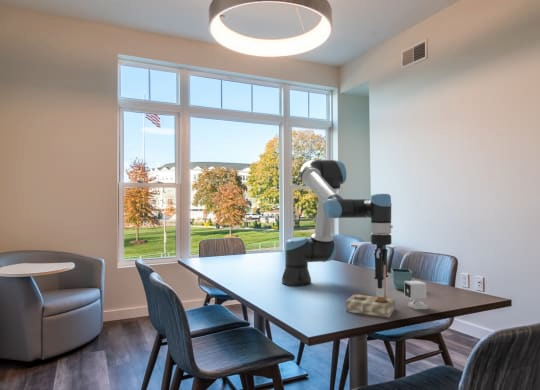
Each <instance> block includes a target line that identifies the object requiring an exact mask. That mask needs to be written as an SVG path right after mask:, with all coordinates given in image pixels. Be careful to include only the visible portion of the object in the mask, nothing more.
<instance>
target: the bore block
mask: <svg viewBox="0 0 540 390" xmlns="http://www.w3.org/2000/svg"><path fill="white" fill-rule="evenodd" d="M395 310H396V299H395V298H389V297H386V303H379V302H377V296H373V295H365V294H358V293H357V294H356V293H354V294H353V295H352V296H350V297H349V298H347V299H346V301H345V311H346V312H348V313H356V314H362V315H367V316H374V317H375V316H377V317H384V318H388V319H389V318H391V316H392V315H393V313H394V312H395Z"/></svg>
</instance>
